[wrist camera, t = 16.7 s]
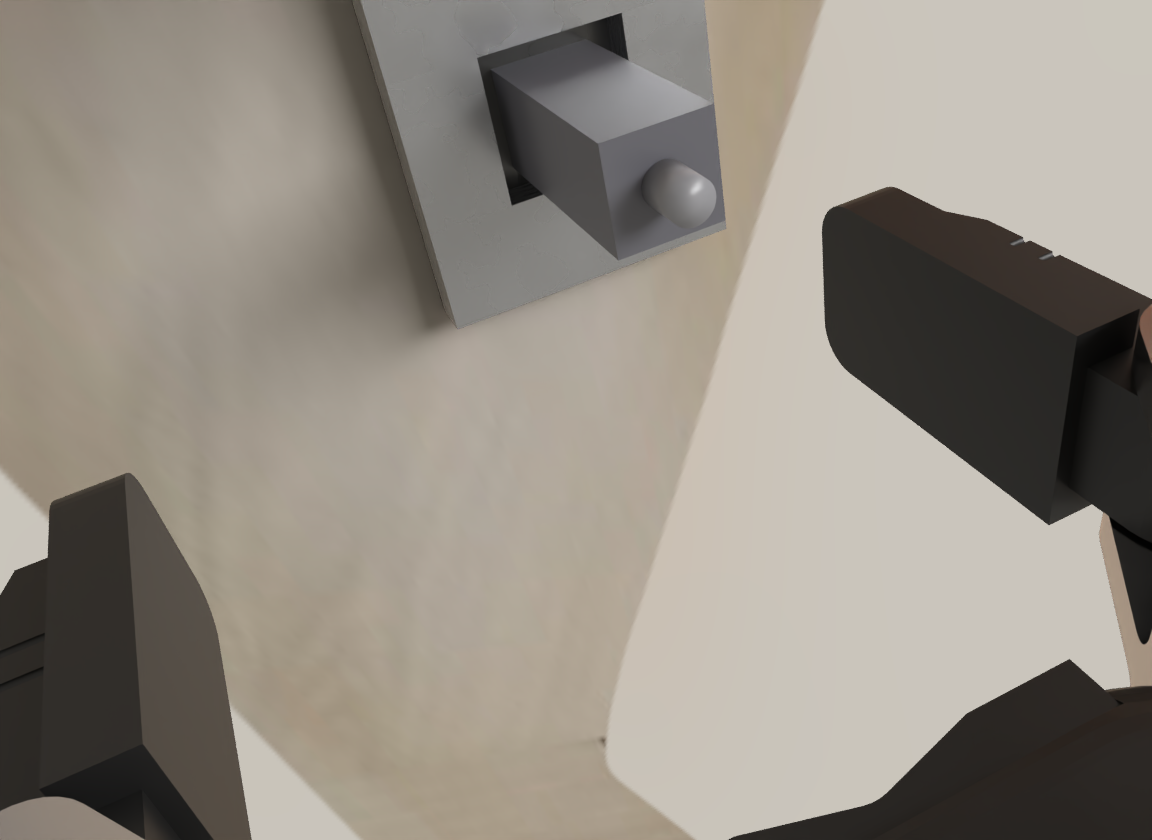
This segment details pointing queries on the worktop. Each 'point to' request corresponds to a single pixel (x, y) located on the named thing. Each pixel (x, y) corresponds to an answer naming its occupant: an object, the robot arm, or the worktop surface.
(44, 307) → the worktop surface
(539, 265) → the socket
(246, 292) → the worktop surface
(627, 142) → the plug
